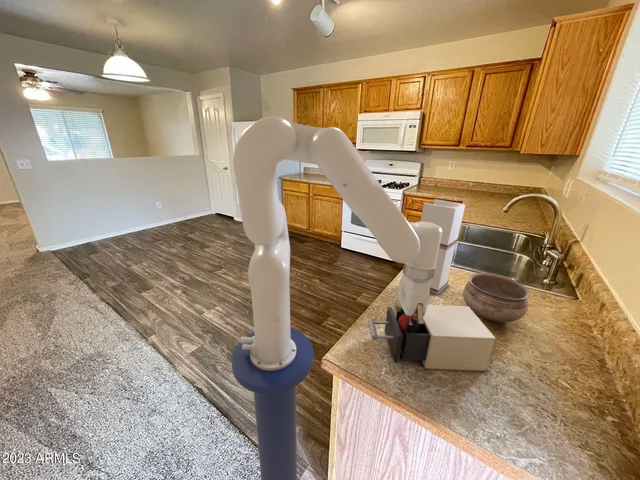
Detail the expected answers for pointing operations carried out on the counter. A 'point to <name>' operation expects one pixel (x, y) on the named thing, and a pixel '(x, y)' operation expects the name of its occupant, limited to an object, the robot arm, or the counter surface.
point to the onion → (404, 322)
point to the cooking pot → (496, 297)
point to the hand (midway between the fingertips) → (407, 327)
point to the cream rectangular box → (456, 339)
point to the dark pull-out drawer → (402, 338)
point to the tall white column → (444, 237)
